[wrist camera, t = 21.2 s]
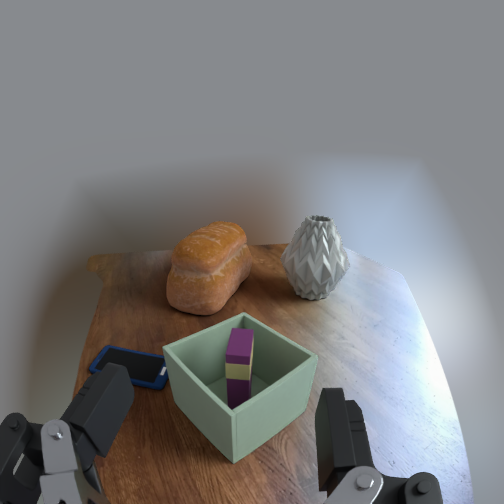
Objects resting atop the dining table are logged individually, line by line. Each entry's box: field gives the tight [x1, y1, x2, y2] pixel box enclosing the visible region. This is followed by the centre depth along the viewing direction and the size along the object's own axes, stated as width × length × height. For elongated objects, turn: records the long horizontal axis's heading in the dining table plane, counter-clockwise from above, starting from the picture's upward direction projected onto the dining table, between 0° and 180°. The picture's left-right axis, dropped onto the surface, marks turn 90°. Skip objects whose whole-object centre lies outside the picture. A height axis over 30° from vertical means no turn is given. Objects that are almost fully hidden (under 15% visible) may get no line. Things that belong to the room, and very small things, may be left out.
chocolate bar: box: [225, 328, 254, 410], centre depth 33 cm, size 5×3×12 cm, turn 175°
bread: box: [167, 221, 252, 315], centre depth 67 cm, size 14×26×15 cm, turn 162°
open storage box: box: [162, 312, 318, 464], centre depth 34 cm, size 13×13×11 cm
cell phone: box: [89, 345, 169, 390], centre depth 41 cm, size 7×14×1 cm, turn 85°
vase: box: [280, 215, 350, 300], centre depth 66 cm, size 16×16×18 cm
